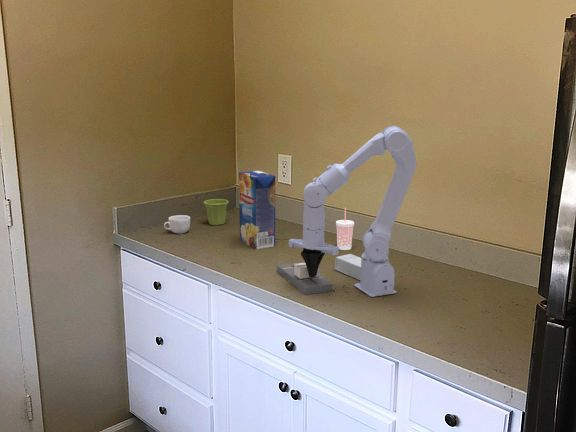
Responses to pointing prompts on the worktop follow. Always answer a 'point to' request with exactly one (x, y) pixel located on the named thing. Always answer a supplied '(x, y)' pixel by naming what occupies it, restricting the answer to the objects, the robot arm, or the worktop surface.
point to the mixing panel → (305, 280)
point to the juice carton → (257, 209)
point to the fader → (303, 270)
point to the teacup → (178, 223)
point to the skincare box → (349, 265)
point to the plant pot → (216, 211)
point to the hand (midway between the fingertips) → (312, 275)
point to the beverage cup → (344, 233)
